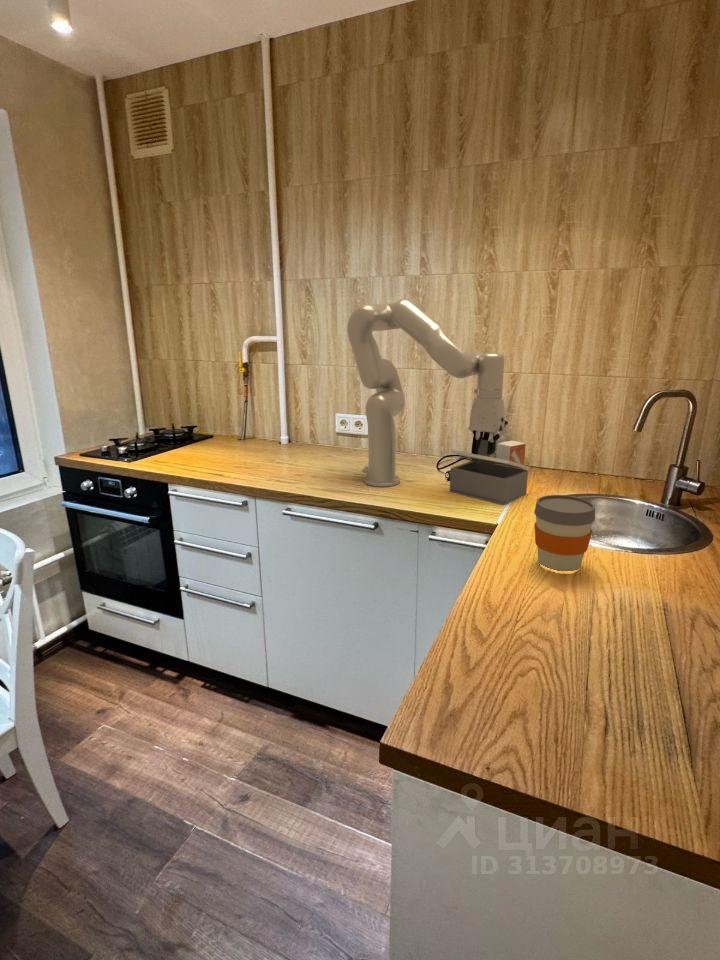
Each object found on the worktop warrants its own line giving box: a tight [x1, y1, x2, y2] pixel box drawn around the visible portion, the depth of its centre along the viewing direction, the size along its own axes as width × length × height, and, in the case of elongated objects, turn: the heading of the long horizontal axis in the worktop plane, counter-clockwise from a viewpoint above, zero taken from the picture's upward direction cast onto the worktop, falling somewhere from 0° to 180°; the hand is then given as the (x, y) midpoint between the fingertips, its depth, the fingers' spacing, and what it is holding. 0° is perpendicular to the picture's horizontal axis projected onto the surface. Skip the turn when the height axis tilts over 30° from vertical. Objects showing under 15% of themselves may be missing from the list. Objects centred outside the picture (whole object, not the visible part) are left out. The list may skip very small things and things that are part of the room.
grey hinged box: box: [449, 459, 529, 506], centre depth 167 cm, size 20×14×8 cm
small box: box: [495, 439, 527, 469], centre depth 181 cm, size 8×6×13 cm
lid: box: [451, 439, 530, 471], centre depth 165 cm, size 20×14×6 cm
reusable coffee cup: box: [533, 494, 596, 571], centre depth 115 cm, size 12×13×15 cm
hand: (485, 452), depth 162 cm, fingers closed on lid, 3 cm apart
